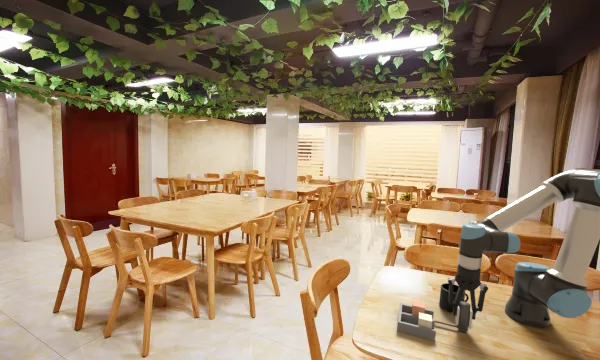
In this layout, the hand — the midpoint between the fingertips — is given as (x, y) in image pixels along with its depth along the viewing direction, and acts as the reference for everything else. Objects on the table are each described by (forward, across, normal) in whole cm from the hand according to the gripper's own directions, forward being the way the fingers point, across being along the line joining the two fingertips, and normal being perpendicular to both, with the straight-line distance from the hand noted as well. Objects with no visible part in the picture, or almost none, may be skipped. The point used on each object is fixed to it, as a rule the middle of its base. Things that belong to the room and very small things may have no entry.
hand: (462, 324), depth 111 cm
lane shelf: (+2, +16, +4) cm, 17 cm away
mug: (+3, +1, -18) cm, 18 cm away
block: (+2, +14, +7) cm, 15 cm away
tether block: (+2, +8, 0) cm, 8 cm away
